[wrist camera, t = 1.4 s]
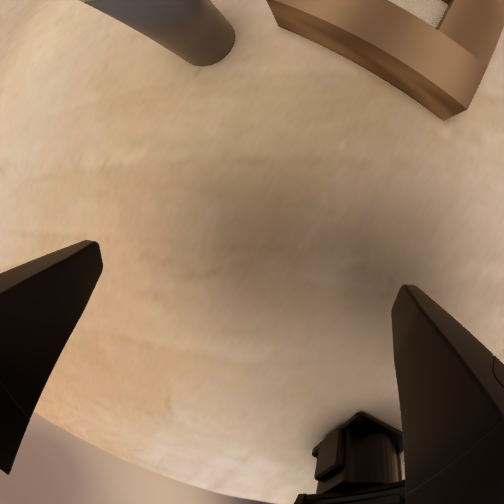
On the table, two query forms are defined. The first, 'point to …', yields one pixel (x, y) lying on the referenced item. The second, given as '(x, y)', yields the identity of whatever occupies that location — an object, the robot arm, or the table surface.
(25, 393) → the robot arm
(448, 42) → the socket block
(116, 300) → the table surface
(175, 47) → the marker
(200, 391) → the table surface
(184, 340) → the table surface
